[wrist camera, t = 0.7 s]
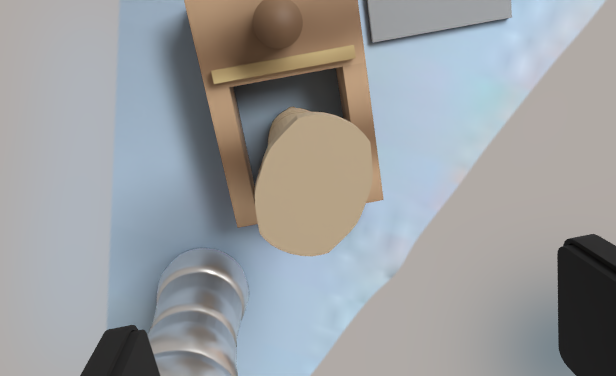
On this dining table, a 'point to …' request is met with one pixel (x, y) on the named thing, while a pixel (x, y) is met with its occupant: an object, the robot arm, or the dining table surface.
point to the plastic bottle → (199, 314)
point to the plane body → (276, 70)
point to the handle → (312, 181)
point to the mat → (430, 15)
